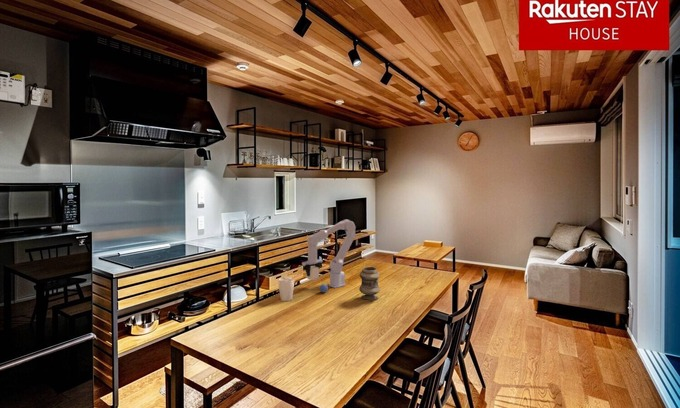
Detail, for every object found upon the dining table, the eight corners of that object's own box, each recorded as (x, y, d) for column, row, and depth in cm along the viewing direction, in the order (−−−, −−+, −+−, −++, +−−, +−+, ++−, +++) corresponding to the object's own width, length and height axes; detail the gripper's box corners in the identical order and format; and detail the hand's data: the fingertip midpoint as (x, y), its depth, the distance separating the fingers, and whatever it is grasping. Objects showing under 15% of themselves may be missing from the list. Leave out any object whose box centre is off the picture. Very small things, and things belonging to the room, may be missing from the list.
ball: (324, 290, 219) (324, 282, 218) (329, 292, 215) (329, 284, 214) (318, 292, 215) (318, 284, 215) (322, 294, 212) (322, 286, 211)
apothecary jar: (355, 299, 203) (356, 269, 201) (364, 293, 213) (364, 264, 212) (375, 303, 197) (375, 272, 196) (382, 296, 208) (383, 267, 206)
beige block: (313, 276, 228) (313, 265, 228) (319, 278, 223) (319, 267, 223) (306, 277, 224) (306, 267, 224) (311, 280, 220) (311, 269, 219)
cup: (291, 302, 198) (291, 281, 197) (276, 301, 200) (276, 280, 199) (296, 297, 207) (296, 277, 206) (281, 295, 208) (281, 276, 207)
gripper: (318, 251, 230) (318, 271, 231) (299, 254, 221) (299, 275, 222) (324, 253, 225) (324, 274, 226) (305, 256, 216) (305, 278, 217)
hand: (312, 275), depth 224 cm, fingers closed on beige block, 6 cm apart
